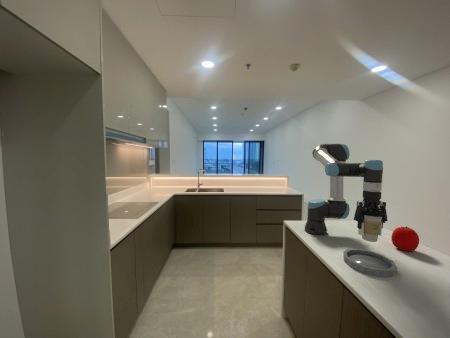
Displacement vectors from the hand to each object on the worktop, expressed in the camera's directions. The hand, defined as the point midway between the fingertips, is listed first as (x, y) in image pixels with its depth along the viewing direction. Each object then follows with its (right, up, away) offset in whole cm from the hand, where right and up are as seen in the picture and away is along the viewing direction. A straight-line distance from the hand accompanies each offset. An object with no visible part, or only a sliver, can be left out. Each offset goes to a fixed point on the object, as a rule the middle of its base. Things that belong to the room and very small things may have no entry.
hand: (369, 234), depth 101 cm
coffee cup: (0, -3, 0) cm, 3 cm away
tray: (0, -15, +1) cm, 15 cm away
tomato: (+34, -15, +18) cm, 41 cm away
